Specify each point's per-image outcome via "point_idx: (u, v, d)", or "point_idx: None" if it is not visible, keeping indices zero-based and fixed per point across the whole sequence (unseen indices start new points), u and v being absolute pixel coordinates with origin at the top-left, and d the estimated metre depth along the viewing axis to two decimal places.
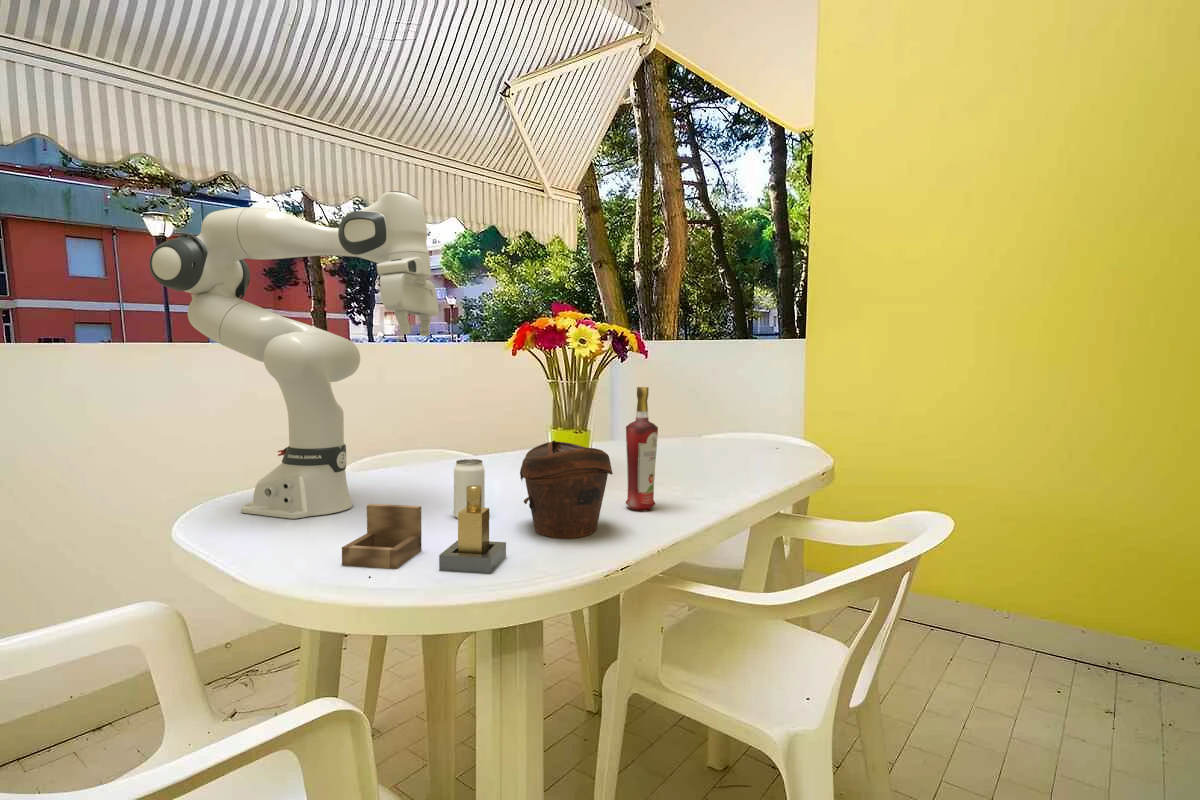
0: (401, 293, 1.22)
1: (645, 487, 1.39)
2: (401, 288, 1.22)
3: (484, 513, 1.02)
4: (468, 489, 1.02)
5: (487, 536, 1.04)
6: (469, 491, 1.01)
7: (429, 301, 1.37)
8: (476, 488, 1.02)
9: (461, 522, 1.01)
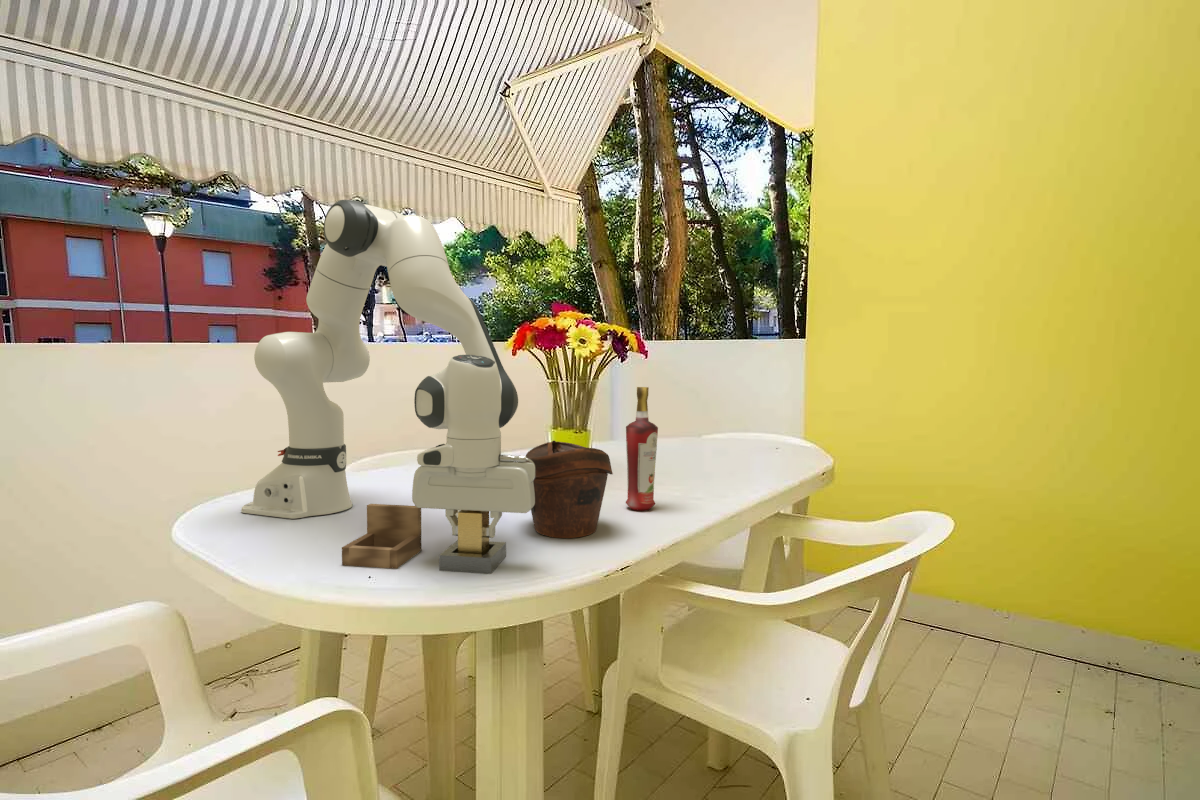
0: (413, 490, 1.02)
1: (645, 487, 1.39)
2: (414, 485, 1.02)
3: (484, 513, 1.02)
4: None
5: None
6: None
7: (499, 495, 1.00)
8: None
9: (461, 522, 1.01)
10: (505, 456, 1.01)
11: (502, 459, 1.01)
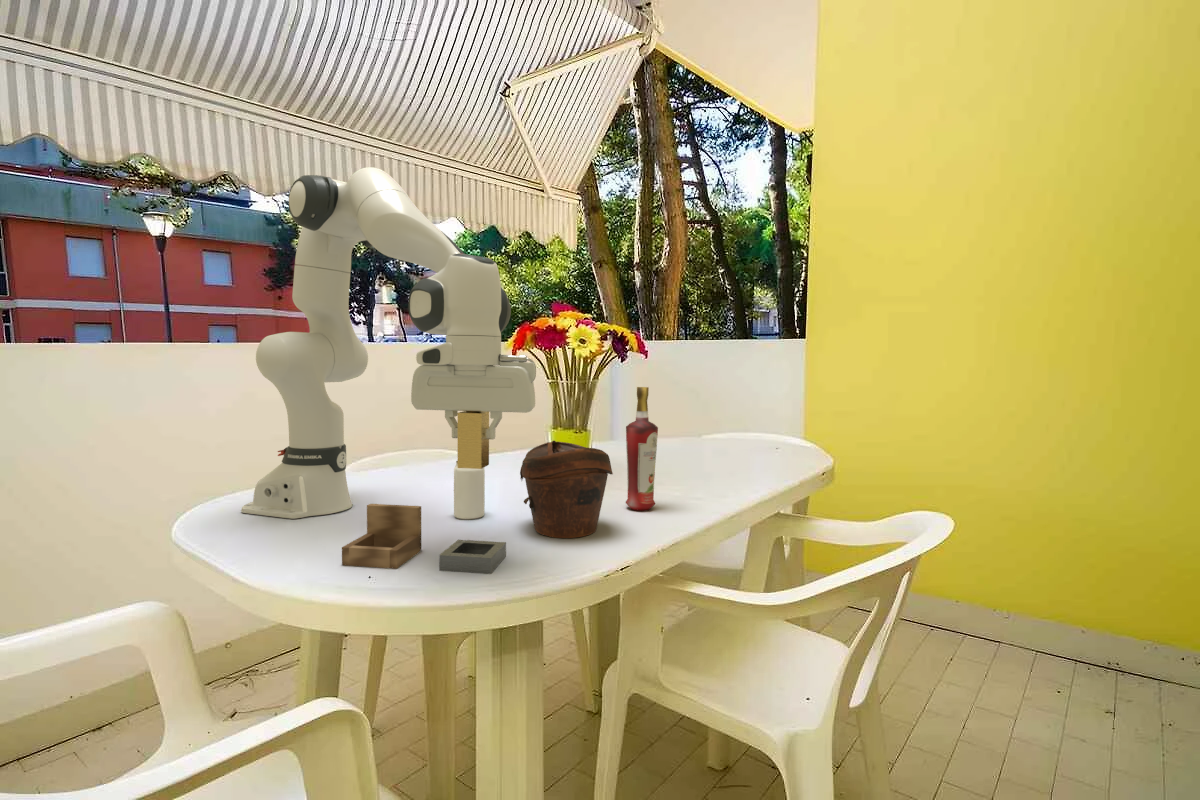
0: (413, 391, 1.01)
1: (645, 487, 1.39)
2: (413, 385, 1.00)
3: (484, 414, 1.01)
4: None
5: (487, 439, 1.03)
6: None
7: (499, 394, 0.99)
8: None
9: (461, 422, 1.00)
10: (505, 356, 1.00)
11: (502, 359, 1.00)
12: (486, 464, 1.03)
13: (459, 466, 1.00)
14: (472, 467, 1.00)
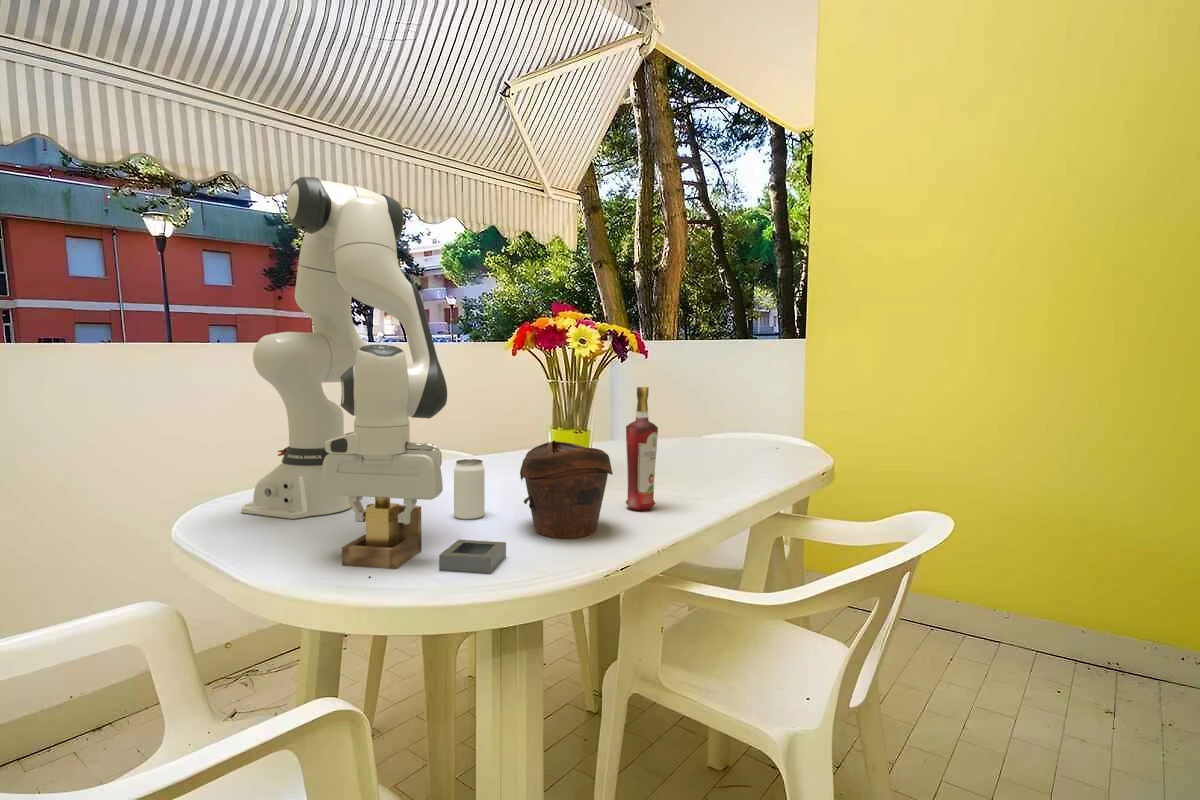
0: (322, 478, 1.04)
1: (645, 487, 1.39)
2: (323, 472, 1.04)
3: (392, 508, 1.04)
4: None
5: (396, 531, 1.06)
6: None
7: (405, 482, 1.02)
8: None
9: (369, 517, 1.03)
10: (412, 444, 1.03)
11: (409, 447, 1.03)
12: None
13: None
14: None
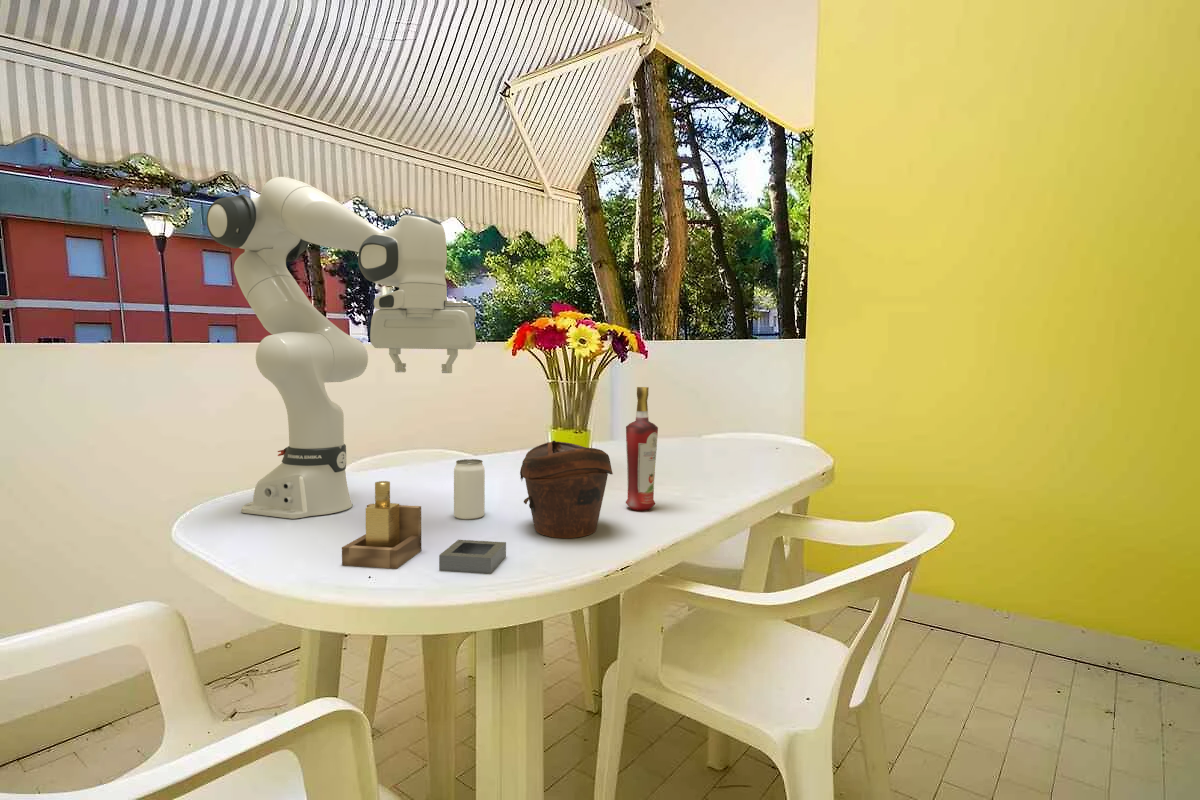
0: (371, 332, 1.19)
1: (645, 487, 1.39)
2: (371, 327, 1.19)
3: (392, 508, 1.04)
4: (376, 485, 1.04)
5: (396, 531, 1.06)
6: (377, 487, 1.04)
7: (444, 334, 1.17)
8: (384, 484, 1.04)
9: (369, 517, 1.03)
10: (449, 301, 1.18)
11: (447, 304, 1.18)
12: None
13: None
14: None
